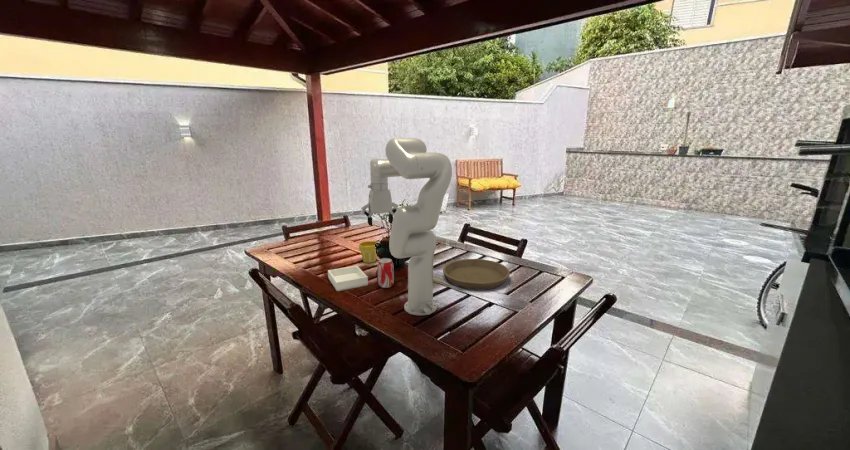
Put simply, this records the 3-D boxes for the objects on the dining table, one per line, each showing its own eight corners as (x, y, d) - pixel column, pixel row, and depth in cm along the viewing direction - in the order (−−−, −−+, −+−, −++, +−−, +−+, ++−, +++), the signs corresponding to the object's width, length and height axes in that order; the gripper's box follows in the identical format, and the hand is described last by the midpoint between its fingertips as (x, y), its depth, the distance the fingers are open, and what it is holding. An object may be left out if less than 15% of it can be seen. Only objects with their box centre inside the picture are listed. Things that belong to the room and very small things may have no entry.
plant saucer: (432, 284, 159) (432, 275, 158) (456, 262, 186) (456, 254, 185) (500, 297, 146) (500, 287, 145) (515, 272, 173) (516, 263, 172)
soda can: (391, 289, 153) (390, 263, 150) (375, 288, 154) (375, 262, 151) (395, 283, 160) (395, 258, 157) (380, 281, 161) (380, 257, 158)
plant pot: (358, 258, 191) (357, 241, 189) (377, 256, 194) (376, 239, 192) (361, 265, 182) (360, 247, 179) (380, 263, 185) (380, 245, 182)
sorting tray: (368, 285, 157) (367, 276, 156) (336, 291, 151) (336, 282, 150) (357, 273, 171) (356, 265, 170) (328, 278, 164) (327, 270, 164)
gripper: (363, 189, 150) (364, 228, 154) (400, 186, 157) (401, 223, 161) (358, 187, 156) (359, 224, 160) (394, 184, 164) (395, 220, 168)
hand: (380, 224), depth 161 cm, fingers open, 9 cm apart
